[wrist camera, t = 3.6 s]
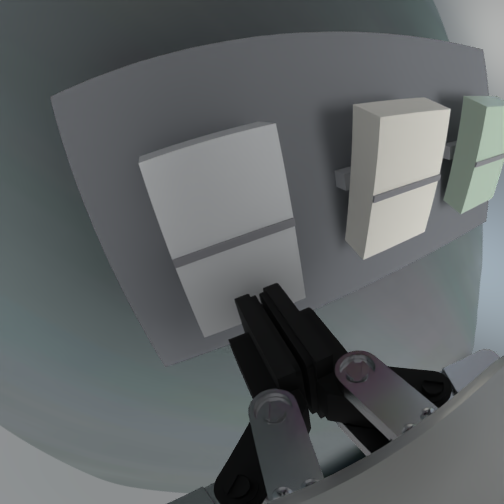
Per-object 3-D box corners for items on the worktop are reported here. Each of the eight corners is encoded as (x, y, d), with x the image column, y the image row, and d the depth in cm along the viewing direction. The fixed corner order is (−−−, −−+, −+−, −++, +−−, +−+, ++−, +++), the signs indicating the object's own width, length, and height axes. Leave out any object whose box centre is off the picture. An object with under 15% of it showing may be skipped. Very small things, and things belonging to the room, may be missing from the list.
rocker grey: (139, 156, 10) (138, 163, 8) (258, 121, 11) (276, 123, 9) (197, 314, 13) (204, 339, 12) (289, 279, 14) (306, 299, 13)
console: (80, 102, 14) (43, 95, 8) (426, 49, 19) (491, 49, 13) (158, 310, 21) (170, 382, 15) (437, 203, 26) (492, 229, 20)
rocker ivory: (352, 104, 10) (382, 118, 9) (424, 97, 11) (452, 109, 10) (345, 240, 15) (364, 261, 14) (406, 215, 16) (425, 232, 15)
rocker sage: (463, 95, 12) (488, 107, 11) (496, 96, 13) (517, 106, 12) (443, 200, 17) (461, 215, 16) (476, 186, 18) (493, 198, 16)
